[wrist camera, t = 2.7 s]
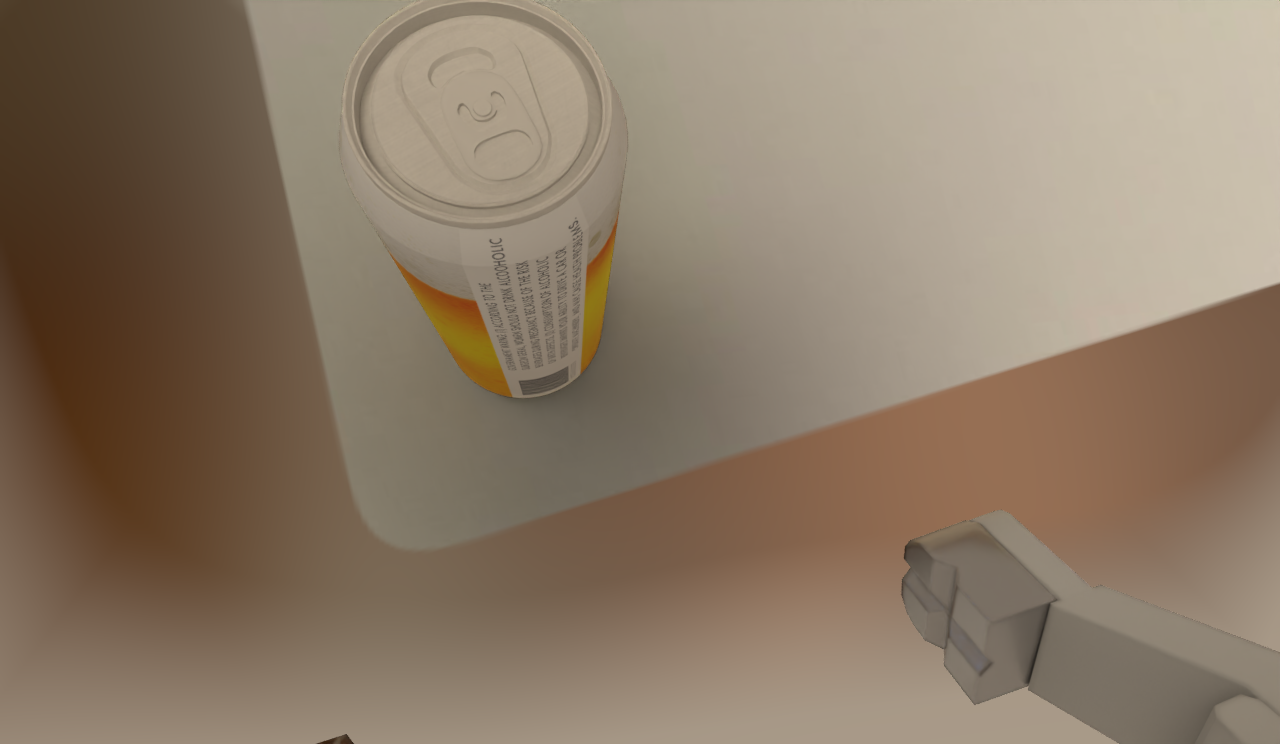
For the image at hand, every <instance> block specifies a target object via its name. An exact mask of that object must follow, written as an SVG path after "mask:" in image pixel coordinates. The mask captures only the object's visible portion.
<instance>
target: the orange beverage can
mask: <svg viewBox="0 0 1280 744" xmlns="http://www.w3.org/2000/svg"><path fill="white" fill-rule="evenodd" d="M627 150H628V131H627V123H626V117H625V114H624V110H623V106H622V103H621V101H620V98H619V96H618V93H617V91H616V89H615V87H614V86H613V84H612V82H611V80H610V78H609V77H608V76H607V74H606V71H605V69H604V66H603V64H602V62H601V60H600V58H599V56H598V55H597V53H596V51H595V50H594V48H593V47H592V46H591V44H590V43H589V41H588V40H587V39H586V38H585V37H584V36H583V35H582V33H581V32H580V31H579V30H578V29H577V28H576V27H574V26H573V25H572V24H571V23H570V22H569V21H568V20H566V19H565V18H563V17H562V16H561V15H559V14H558V13H556V12H555V11H553V10H551V9H549V8H547V7H546V6H544V5H542V4H539V3H537V2H535V1H532V0H419V1H417V2H414V3H412V4H410V5H408V6H406V7H404V8H402V9H400V10H399V11H397V12H396V13H394V14H393V15H391V16H390V17H388V18H387V19H386V20H385V21H383V22H382V23H381V24H380V25H379V26H377V27H376V28H375V29H374V31H373V32H372V33H371V34H370V35H369V36H368V37H367V38H366V40H365V41H364V42H363V44H362V45H361V46H360V48H359V49H358V51H357V53H356V55H355V56H354V58H353V60H352V62H351V65H350V67H349V70H348V72H347V75H346V79H345V83H344V87H343V96H342V114H341V118H340V126H339V152H340V158H341V164H342V167H343V171H344V174H345V177H346V180H347V182H348V184H349V186H350V188H351V191H352V193H353V195H354V196H355V198H356V199H357V201H358V203H359V204H360V206H361V208H362V209H363V211H364V212H365V214H366V216H367V217H368V219H369V221H370V222H371V224H372V226H373V227H374V229H375V230H376V232H377V234H378V235H379V237H380V239H381V240H382V242H383V243H384V245H385V247H386V248H387V250H388V252H389V253H390V255H391V257H392V258H393V260H394V261H395V263H396V265H397V266H398V268H399V270H400V271H401V273H402V274H403V276H404V278H405V279H406V281H407V283H408V284H409V286H410V288H411V289H412V291H413V292H414V294H415V296H416V297H417V299H418V301H419V302H420V304H421V305H422V307H423V309H424V310H425V312H426V314H427V315H428V317H429V319H430V320H431V322H432V323H433V325H434V327H435V328H436V330H437V332H438V333H439V335H440V336H441V338H442V340H443V341H444V343H445V345H446V346H447V348H448V350H449V351H450V353H451V354H452V356H453V358H454V359H455V361H456V362H457V364H458V366H459V367H460V368H461V369H462V371H463V372H464V373H465V374H466V375H467V376H468V377H469V378H470V379H471V380H473V381H474V382H475V383H477V384H478V385H480V386H481V387H483V388H485V389H487V390H489V391H491V392H493V393H496V394H500V395H503V396H508V397H514V398H532V397H538V396H543V395H547V394H550V393H552V392H555V391H557V390H559V389H561V388H563V387H565V386H567V385H568V384H570V383H571V382H572V381H574V380H575V379H576V378H577V377H578V376H579V375H581V373H582V372H583V371H584V370H585V369H586V368H587V366H588V365H589V363H590V362H591V361H592V359H593V357H594V355H595V353H596V351H597V348H598V345H599V342H600V338H601V332H602V325H603V318H604V311H605V304H606V297H607V290H608V283H609V276H610V269H611V262H612V256H613V249H614V242H615V235H616V228H617V221H618V214H619V207H620V200H621V193H622V186H623V179H624V172H625V165H626V158H627Z"/></svg>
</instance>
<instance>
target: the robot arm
mask: <svg viewBox="0 0 1280 744" xmlns="http://www.w3.org/2000/svg"><path fill="white" fill-rule="evenodd" d="M904 559H905V560H906V562H907V563H908V564H909V565H910V567H911V568H910V569H909V570H908V572H907V573H906V575H905V576H904V577H903V579H902V598H903V601H904V604H905V608H906V611H907V614H908V615H909V617H910V619H911V621H912V622H913V625H914V626H915V628H916V629H917V630H918V632H919V633H920V634H921V636H922V637H923V639H924V640H925V641H927V642H930V643H932V644H934V645H936V646H938V647H940V648H942V649H944V666H945V667H946V669H947V670H948V671H949V673H950V674H951V675H952V677H953V678H954V679H955V680H956V682H957V683H958V684H959V686H960V687H961V688H962V690H963V691H964V692H965V693H966V695H967V696H968V697H969V699H970V700H971V701H972V703H973V704H974V705H976V704H979V703H982V702H985V701H988V700H990V699H993V698H996V697H999V696H1002V695H1004V694H1007V693H1010V692H1013V691H1016V690H1019V689H1021V688H1024V687H1027V686H1029V687H1028V690H1029V691H1031V692H1033V693H1034V694H1036V695H1038V696H1039V697H1041V698H1043V699H1044V700H1046V701H1048V702H1050V703H1051V704H1053V705H1055V706H1057V707H1058V708H1060V709H1061V710H1063V711H1065V712H1067V713H1068V714H1070V715H1072V716H1073V717H1075V718H1077V719H1079V720H1080V721H1082V722H1083V723H1085V724H1087V725H1089V726H1090V727H1092V728H1094V729H1095V730H1097V731H1099V732H1101V733H1102V734H1104V735H1106V736H1107V737H1109V738H1111V739H1112V740H1114V741H1116V742H1117V743H1119V744H1280V652H1277V651H1275V650H1272V649H1269V648H1266V647H1264V646H1261V645H1259V644H1256V643H1253V642H1251V641H1248V640H1246V639H1243V638H1240V637H1238V636H1235V635H1232V634H1230V633H1227V632H1224V631H1222V630H1219V629H1216V628H1213V627H1211V626H1209V625H1206V624H1203V623H1201V622H1198V621H1195V620H1193V619H1190V618H1187V617H1185V616H1182V615H1179V614H1177V613H1174V612H1171V611H1169V610H1166V609H1164V608H1161V607H1158V606H1156V605H1153V604H1150V603H1148V602H1145V601H1142V600H1140V599H1137V598H1134V597H1132V596H1129V595H1126V594H1124V593H1121V592H1118V591H1116V590H1113V589H1110V588H1107V587H1105V586H1103V585H1100V586H1096V587H1093V588H1092V587H1091V586H1089V585H1088V584H1087V583H1086V582H1085V581H1084V580H1083V579H1082V578H1080V577H1079V576H1078V575H1077V574H1076V573H1075V572H1074V571H1073V570H1072V569H1071V568H1070V567H1068V566H1067V565H1066V564H1065V563H1064V562H1063V561H1062V560H1061V559H1060V558H1059V557H1057V556H1056V555H1055V554H1054V553H1053V552H1052V551H1051V550H1050V549H1049V548H1048V547H1046V546H1045V545H1044V544H1043V543H1042V542H1041V541H1040V540H1039V539H1038V538H1036V537H1035V536H1034V535H1033V534H1032V533H1031V532H1030V531H1029V530H1028V529H1027V528H1025V527H1024V526H1023V525H1022V524H1021V523H1020V522H1019V521H1018V520H1016V518H1014V517H1013V516H1012V515H1011V514H1010V513H1008V512H1005V511H1003V510H997V511H993V512H991V513H988V514H985V515H982V516H980V517H977V518H974V519H972V520H969V521H966V520H965V521H962V522H960V523H957V524H954V525H951V526H949V527H946V528H943V529H940V530H937V531H935V532H932V533H929V534H926V535H924V536H921V537H918V538H915V539H912V540H910V541H909V542H908V544H907V545H906V546H905V553H904ZM317 744H354V743H353V742H352V741H351V739H350V738H349V737H348V735H347V734H345V735H342V736H339V737H336V738H333V739H330V740H327V741H323V742H321V743H317Z"/></svg>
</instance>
